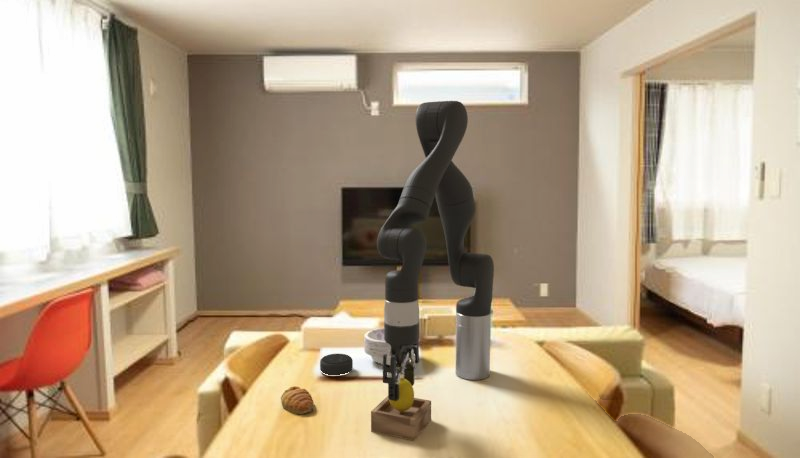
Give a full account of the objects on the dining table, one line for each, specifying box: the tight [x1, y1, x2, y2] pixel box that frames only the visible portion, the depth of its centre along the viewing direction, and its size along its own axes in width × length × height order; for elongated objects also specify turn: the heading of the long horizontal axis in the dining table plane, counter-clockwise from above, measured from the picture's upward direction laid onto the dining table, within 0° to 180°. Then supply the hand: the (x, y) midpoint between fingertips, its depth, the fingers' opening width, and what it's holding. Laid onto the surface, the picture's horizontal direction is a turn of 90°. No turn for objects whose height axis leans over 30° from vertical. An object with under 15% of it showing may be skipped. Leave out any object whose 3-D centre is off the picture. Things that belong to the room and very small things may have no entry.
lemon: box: [389, 376, 415, 413], centre depth 120 cm, size 6×6×8 cm
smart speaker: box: [319, 353, 354, 375], centre depth 152 cm, size 9×9×4 cm
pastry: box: [280, 386, 315, 415], centre depth 130 cm, size 9×7×4 cm
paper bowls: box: [363, 327, 391, 365], centre depth 160 cm, size 15×15×8 cm
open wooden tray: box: [370, 395, 432, 441], centre depth 120 cm, size 10×10×4 cm
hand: (401, 392), depth 120 cm, fingers open, 8 cm apart
